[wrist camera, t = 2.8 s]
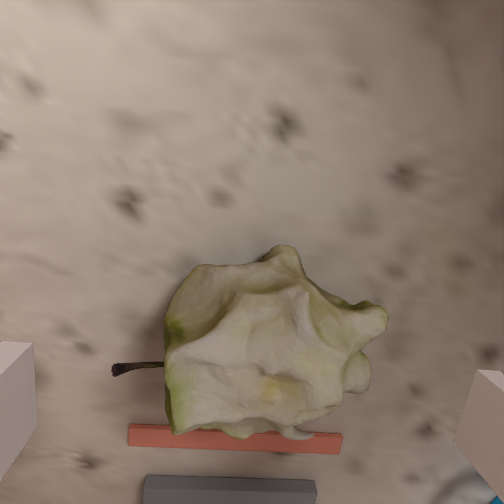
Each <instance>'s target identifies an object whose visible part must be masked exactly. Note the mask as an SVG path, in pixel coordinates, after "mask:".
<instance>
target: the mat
mask: <svg viewBox="0 0 504 504" xmlns="http://www.w3.org/2000/svg"><path fill="white" fill-rule="evenodd" d="M316 496H317V490H316V487H315V483H314V480H283V479H252V478H221V477H190V476H159V475H147V476H146V480H145V484H144V488H143V504H315V501H316Z"/></svg>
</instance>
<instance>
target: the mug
mask: <svg viewBox="0 0 504 504" xmlns="http://www.w3.org/2000/svg"><path fill="white" fill-rule="evenodd" d="M491 504H504V503H503V502H502V501H501V500H500V498H499V497H498V496H497V497H496V498H495V499H494V501H493V502H492V503H491Z"/></svg>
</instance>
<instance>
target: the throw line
mask: <svg viewBox="0 0 504 504" xmlns="http://www.w3.org/2000/svg"><path fill="white" fill-rule="evenodd" d="M307 433H315V432H307ZM342 440H343V437H342V434H336V433H315V434H314V436H313V437H311V438H309V439H306V440H291V439H287V438H285V437H283V436H282V435H281V434H280V433H279V432H278V431H266V432H265V433H254V434H252V435H250V436H249V437H248V438H247V439H243V440H239V439H235V438H233V437H231V436H228V435H226V434H225V433H224V432H223V431H221V430H219V429H215V428H213V429H202V428H200V427H199V428H197V429H195V430H193V431H189V432H186V433H184V434H182V435H177V436H175V435H173V433H172V431H171V426H165V425H144V424H130V427H129V445H128V446H145V447H170V448H194V449H219V450H244V451H268V452H293V453H318V454H339V452H340V448H341V444H342Z"/></svg>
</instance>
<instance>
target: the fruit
mask: <svg viewBox="0 0 504 504" xmlns="http://www.w3.org/2000/svg"><path fill="white" fill-rule="evenodd" d="M388 319H389V316H388V314H387V312H386V310H385V309H384V308H383V307H381V306H380V305H374V304H372V303H370V302H369V301H368V300H366V301H361V302H360V303H358V304H357V305H350V304H348V303H347V302H346V301H345V300H343V299H341V298H340V297H338V296H334V295H331V294H329V293H327V292H326V291H324V290H322V289H321V288H319V287H318V286H317V285H316V284H315V283H314V282H312V281H311V280H310V279H309V278H308V277H307V276H306V274H305V272H304V269H303V267H302V264H301V261H300V257H299V254H298V252H297V250H296V249H295V248H293V247H290V246H286V245H277V246H275V247H273V248H272V249H271V250H270V252H269V253H268V254H267V255H265V256H264V257H263V258H261V260H260V261H259V262H253V263H249V264H244V265H220V266H215V265H210V264H204V265H198V266H197V267H195V268H194V269H193V270H192V271H191V273H190V274H189V275H188V276H187V277H186V279H185V280H184V282H183V283H182V285H181V286H180V287H179V289H178V290H177V291H176V293H175V294H174V296H173V298H172V299H171V301H170V303H169V305H168V309H167V312H166V314H165V317H164V321H163V323H164V327H165V328H164V340H165V357H164V362H139V363H117V364H114V365H113V366H112V371H111V372H112V373H113V376H114V377H116V376H118V375H121V374H123V373H126V372H128V371H131V370H135V369H140V368H156V367H164V377H165V393H166V398H165V411H166V414H167V417H168V419H169V422H170V426H171V431H172V433H173V435H175V436H177V435H182V434H184V433H186V432H189V431H193V430H195V429H197V428H199V427H200V428H202V429H213V428H215V429H219V430H221V431H223V432H224V433H225V434H226V435H228V436H231V437H233V438H235V439H239V440H243V439H247V438H248V437H249V436H250V435H252V434H254V433H265V432H266V431H272V430H273V431H278V432H279V433H280V434H281V435H282V436H283V437H285V438H287V439H291V440H306V439H309V438H311V437H313V436H314V434H315V433H307V432H303V431H300V430H297V429H296V428H295V427H294V426H296V425H299V424H300V423H303V422H307V421H311V420H314V419H317V418H319V417H321V416H324V415H327V414H329V413H331V412H333V411H334V410H336V409H337V407H339V406H340V404H341V402H342V397H343V393H344V392H348V393H354V394H361V393H364V392H366V391H367V390H368V389H369V386H370V378H371V366H370V361H369V359H368V358H367V357H366V356H365V355H364V354H363V353H362V352H361V349H362V348H364V347H365V346H366V345H367V344H368V343H369V342H370V341H372V340H373V339H375V338H377V337H379V336H380V335H382V334H383V333H384V332H385V330H386V328H387V321H388Z"/></svg>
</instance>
